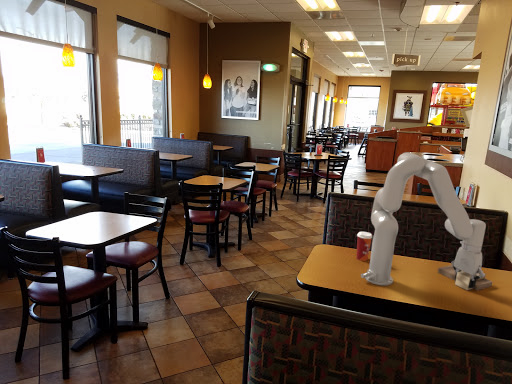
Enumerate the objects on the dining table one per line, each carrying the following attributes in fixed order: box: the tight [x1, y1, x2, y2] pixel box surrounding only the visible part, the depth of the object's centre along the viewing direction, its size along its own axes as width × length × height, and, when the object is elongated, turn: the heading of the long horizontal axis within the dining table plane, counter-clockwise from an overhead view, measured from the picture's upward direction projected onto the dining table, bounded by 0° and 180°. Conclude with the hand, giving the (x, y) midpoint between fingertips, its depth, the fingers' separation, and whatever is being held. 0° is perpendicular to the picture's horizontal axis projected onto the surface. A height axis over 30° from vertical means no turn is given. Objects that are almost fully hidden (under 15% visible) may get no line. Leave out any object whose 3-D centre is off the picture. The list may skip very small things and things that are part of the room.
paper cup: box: [356, 231, 373, 262], centre depth 194 cm, size 8×8×14 cm
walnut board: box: [437, 264, 493, 292], centre depth 177 cm, size 20×11×3 cm, turn 27°
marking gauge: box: [454, 271, 487, 291], centre depth 171 cm, size 6×15×6 cm, turn 117°
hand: (464, 283), depth 169 cm, fingers closed on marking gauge, 6 cm apart
